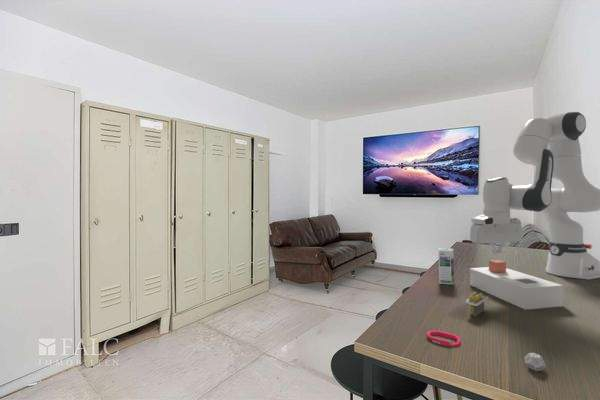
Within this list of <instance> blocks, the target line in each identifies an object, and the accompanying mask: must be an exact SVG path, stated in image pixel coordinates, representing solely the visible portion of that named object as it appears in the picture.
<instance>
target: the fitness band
mask: <svg viewBox="0 0 600 400" xmlns="http://www.w3.org/2000/svg"><path fill="white" fill-rule="evenodd" d="M426 336H427V338H428V339H429V340H430V341H431V342H432V343H435V344H438V345H441V346H446V347H454V348H455V347H459V346H460V345H461V338H460V337H459V336H458V335H456V334H453V333H450V332H446V331H441V330H429V331H427V332H426ZM435 336H440V337H445V338H449V339H451V340H455V341H456V342H454V343H451V340H447V339H443V338H438V337H435Z"/></svg>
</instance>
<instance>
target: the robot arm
mask: <svg viewBox="0 0 600 400" xmlns="http://www.w3.org/2000/svg"><path fill="white" fill-rule="evenodd" d="M586 127H587V120H586V117H585V116H584V115H583V114H582V113H581V112H579V111H570V112H566V113H559V114H552V115H549V116H546V117H534V118H531V119H530V120H529V119H528V121H527V122H526V123H525V124H524V125H523V126H522V128H521V130H520V131H519V132H518V133H519V134H518V136H517V138H516V140H515V143H514V145H513V149H512V150H513V151H512V152H513V155H514V157H515V158H516V159H517V160H518V161H520V162H522V163H524V164H527V165H532V166H535V167H536V168H535V174H534V180H533V182H532V183H530V184H524V185H517V184H515V185H514V184H512V183H510V182H509V179H508V177H504V176H501V177H500V176H499V177H491V178H488V179H487V180H486V179H485V181H484V183H483V189H482V190H483V191H482V202H483V210H482V211H483V213H481V214H479V215H477V216H474V217H471V219H470V222H471V223H472V225H471V226H470V229H469V230H470V235H469V238H470V241H471V243H473V244H488V246H489V247H490V249H491V254H492V255H501V254H503V249H504V248H505V245H506V243H514V242H518V243H519V242H522V241H523V240H524V232H523V227H522V221H521V220H520V219H519V218H517V217H511V210H516V211H530V212H535V213H536V212H537V213H538V212H540V213H541V214H542V215H543V216H544V218H545V219H546V221H547V223H548V228H549V229H548V230H549V241H548V250H549V252H548V255H547V265H546V266H545V272H546V273H548V274H551V275H554V276H558V277H559V276H560V277H564V278H575V279H580V280H581V279H582V280H594V279H600V259H598V258H596V257H594V256H593V255H592V254H591V253H589V252H588V250H591V249H592V248H593V245H592V244H589V243H584V228H583V226H582V224H581V223H580V222H579V221H576V220H573V219H571V218H570V216H569V215H568V213H591V212H599V211H600V189H599V187H597V186H595V185H593V184H591V182H589V180H588V179H587V178H586V176H585V174H584V171H583V165H582V151H581V145H580V144H581V143H580V139H579V137H580V136H582V135H583V133H584V132H585V130H586ZM553 179H556V180H558V181H560V182H561V183H562V185H563V187H552V180H553ZM497 245H498V246H497ZM496 246H497V247H496ZM587 249H588V250H587Z"/></svg>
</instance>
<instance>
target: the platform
mask: <svg viewBox="0 0 600 400" xmlns="http://www.w3.org/2000/svg"><path fill="white" fill-rule="evenodd" d="M488 299H489V296H487V295H483V292H480V293H479V294H477V291H474V292H473V293H471V294H470V295H469V296H468V298H466V299H465V303H466V304H468V305H469V310H470V311H469V312H470V313H469V314H470V315H471V316H473V317H474V318H477V317H478V316H479V315H481V313H483V312H484V311H485V301H487V300H488Z"/></svg>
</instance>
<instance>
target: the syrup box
mask: <svg viewBox="0 0 600 400" xmlns="http://www.w3.org/2000/svg"><path fill="white" fill-rule="evenodd" d="M454 252H455V251H454V248H444V247H439V248H438V273H439V274H438V279H439V280H438V281H439V282H438V283H439V284H440V285H452V286H455V264H454V263H455V260H454V259H455V258H454V256H455V255H454Z"/></svg>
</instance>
